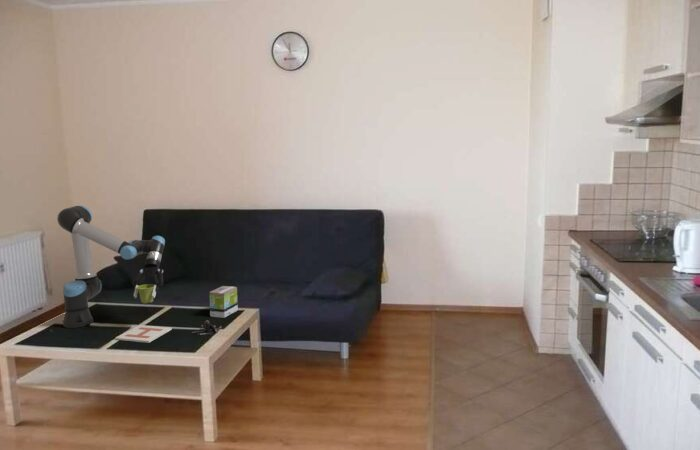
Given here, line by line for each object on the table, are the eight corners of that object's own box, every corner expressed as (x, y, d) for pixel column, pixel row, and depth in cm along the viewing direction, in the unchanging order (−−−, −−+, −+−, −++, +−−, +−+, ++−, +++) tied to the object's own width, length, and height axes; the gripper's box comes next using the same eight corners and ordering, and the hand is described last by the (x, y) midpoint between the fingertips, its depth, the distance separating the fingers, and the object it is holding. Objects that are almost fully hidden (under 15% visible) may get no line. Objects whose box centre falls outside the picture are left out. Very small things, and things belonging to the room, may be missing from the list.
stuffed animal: (226, 327, 303) (209, 320, 295) (218, 345, 300) (201, 338, 292) (213, 323, 311) (196, 315, 302) (205, 340, 308) (188, 333, 300)
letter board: (115, 339, 292) (115, 337, 292) (139, 326, 311) (139, 325, 310) (148, 342, 286) (148, 340, 286) (171, 329, 305) (171, 327, 305)
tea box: (225, 318, 322) (223, 293, 320) (209, 316, 325) (208, 291, 323) (238, 310, 336) (237, 286, 334) (223, 309, 339) (222, 285, 337)
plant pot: (150, 304, 303) (149, 289, 302) (134, 304, 305) (133, 288, 304) (159, 299, 312) (158, 284, 311) (143, 299, 314) (142, 283, 313)
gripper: (131, 257, 315) (121, 293, 302) (170, 257, 314) (162, 293, 301) (136, 264, 322) (126, 300, 308) (174, 264, 320) (166, 299, 307)
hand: (144, 296), depth 305 cm, fingers closed on plant pot, 9 cm apart
